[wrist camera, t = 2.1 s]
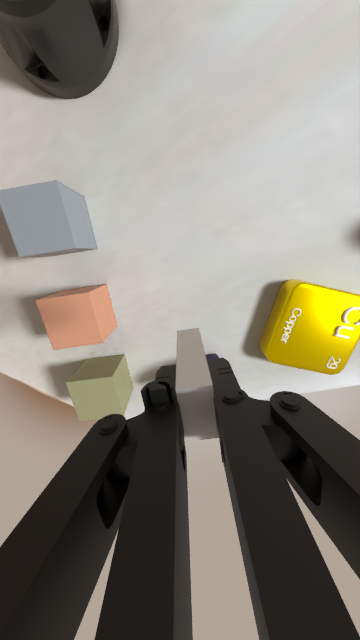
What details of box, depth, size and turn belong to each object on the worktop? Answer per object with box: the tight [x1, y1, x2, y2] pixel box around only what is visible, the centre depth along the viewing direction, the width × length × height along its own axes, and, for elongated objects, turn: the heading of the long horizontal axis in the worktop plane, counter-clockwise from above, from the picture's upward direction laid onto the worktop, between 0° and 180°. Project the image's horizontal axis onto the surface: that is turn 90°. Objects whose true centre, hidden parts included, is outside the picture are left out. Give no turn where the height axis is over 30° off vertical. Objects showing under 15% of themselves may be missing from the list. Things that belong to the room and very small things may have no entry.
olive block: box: [66, 354, 133, 421], centre depth 40 cm, size 8×8×8 cm
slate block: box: [0, 180, 98, 257], centre depth 31 cm, size 8×8×8 cm
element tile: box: [260, 279, 360, 375], centre depth 38 cm, size 15×15×5 cm
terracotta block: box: [35, 284, 117, 350], centre depth 36 cm, size 8×8×8 cm
